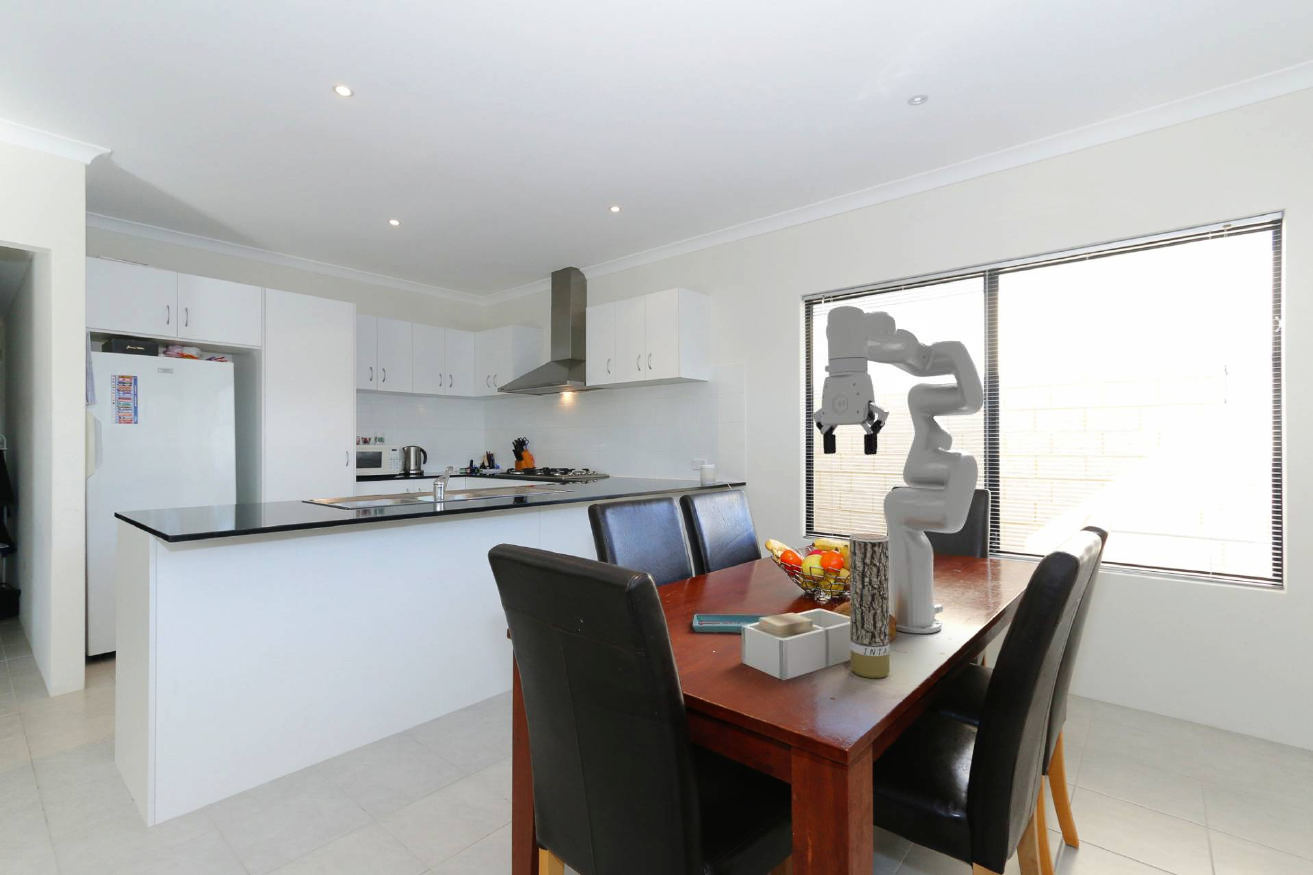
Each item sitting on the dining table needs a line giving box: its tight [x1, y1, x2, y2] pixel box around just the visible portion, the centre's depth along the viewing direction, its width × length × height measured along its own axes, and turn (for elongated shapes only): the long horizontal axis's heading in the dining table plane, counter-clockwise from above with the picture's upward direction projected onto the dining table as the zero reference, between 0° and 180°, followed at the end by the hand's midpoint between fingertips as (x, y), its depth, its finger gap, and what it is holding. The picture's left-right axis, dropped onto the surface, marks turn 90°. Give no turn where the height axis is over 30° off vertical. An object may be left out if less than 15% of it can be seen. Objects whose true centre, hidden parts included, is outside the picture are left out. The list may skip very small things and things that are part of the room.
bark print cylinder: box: [849, 533, 891, 679], centre depth 115 cm, size 7×7×25 cm
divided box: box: [741, 608, 851, 681], centre depth 122 cm, size 22×11×7 cm, turn 124°
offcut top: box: [759, 612, 813, 638], centre depth 119 cm, size 8×6×3 cm
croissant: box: [831, 600, 898, 642], centre depth 138 cm, size 14×16×8 cm
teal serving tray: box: [692, 613, 775, 634], centre depth 143 cm, size 26×9×2 cm, turn 84°
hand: (849, 454), depth 126 cm, fingers open, 9 cm apart
